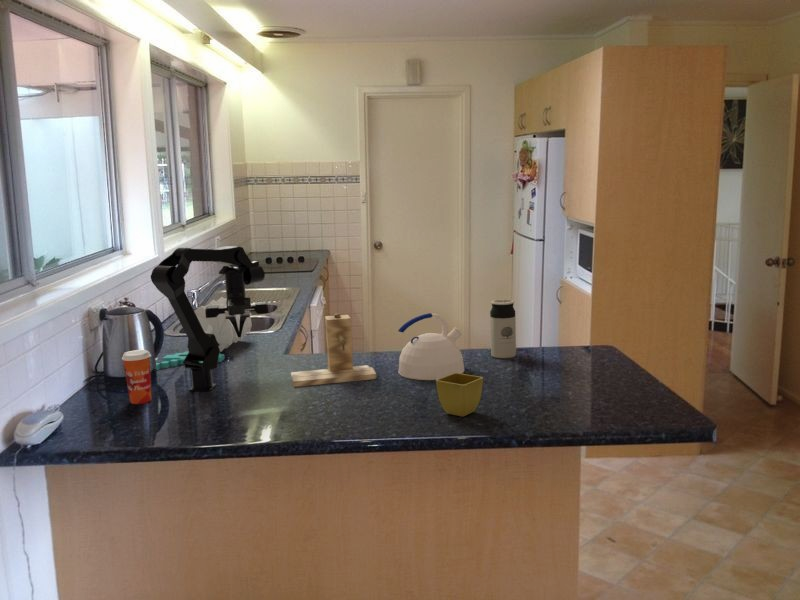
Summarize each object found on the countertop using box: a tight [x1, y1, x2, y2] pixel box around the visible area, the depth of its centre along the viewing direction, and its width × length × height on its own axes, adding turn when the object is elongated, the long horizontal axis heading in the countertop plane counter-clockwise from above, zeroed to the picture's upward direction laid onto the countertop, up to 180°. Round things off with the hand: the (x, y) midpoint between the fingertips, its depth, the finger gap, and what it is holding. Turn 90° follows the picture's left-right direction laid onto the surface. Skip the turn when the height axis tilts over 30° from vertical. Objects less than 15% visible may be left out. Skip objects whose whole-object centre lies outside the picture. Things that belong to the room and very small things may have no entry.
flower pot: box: [435, 373, 484, 417], centre depth 185 cm, size 9×9×9 cm
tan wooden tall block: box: [324, 313, 354, 371], centre depth 219 cm, size 7×16×18 cm, turn 11°
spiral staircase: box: [194, 296, 253, 353], centre depth 269 cm, size 18×18×25 cm
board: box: [290, 364, 377, 388], centre depth 221 cm, size 24×16×2 cm, turn 102°
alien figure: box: [155, 350, 225, 371], centre depth 249 cm, size 20×2×20 cm
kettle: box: [397, 312, 465, 381], centre depth 224 cm, size 20×21×18 cm
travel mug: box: [489, 298, 517, 359], centre depth 238 cm, size 8×8×18 cm
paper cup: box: [121, 349, 152, 405], centre depth 206 cm, size 8×8×14 cm
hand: (239, 337), depth 228 cm, fingers closed
